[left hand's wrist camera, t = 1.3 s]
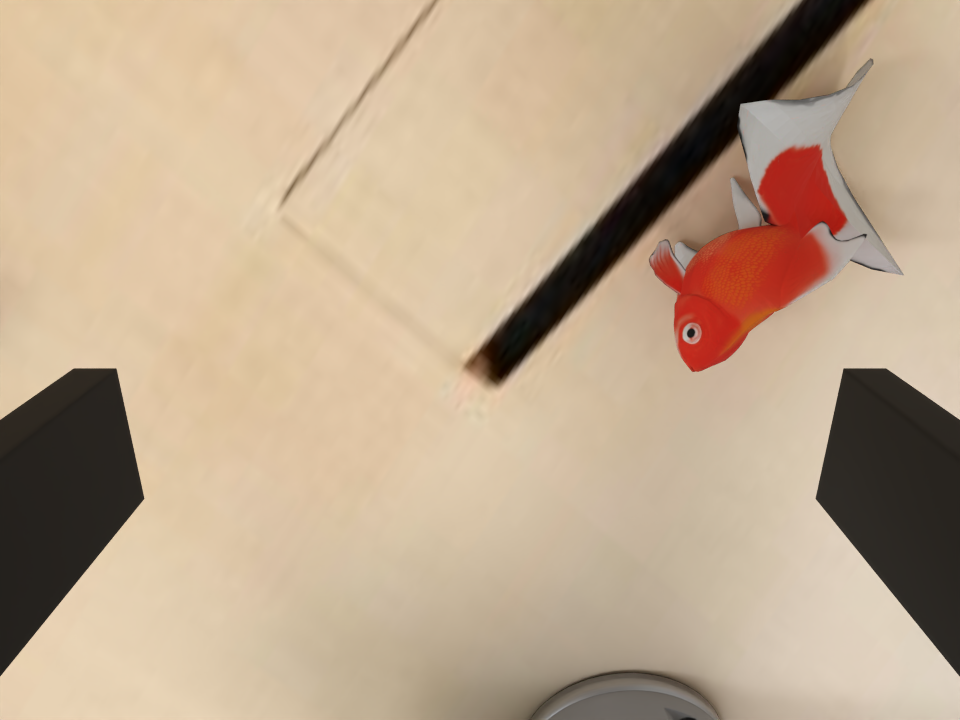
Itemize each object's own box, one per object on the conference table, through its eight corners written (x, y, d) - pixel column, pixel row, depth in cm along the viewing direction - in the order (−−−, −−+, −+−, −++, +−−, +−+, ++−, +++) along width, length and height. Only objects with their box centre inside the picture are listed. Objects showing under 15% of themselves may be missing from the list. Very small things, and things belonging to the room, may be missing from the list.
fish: (546, 238, 32) (718, 281, 24) (740, 12, 34) (955, -16, 27) (641, 370, 38) (803, 439, 31) (800, 172, 41) (988, 188, 33)
